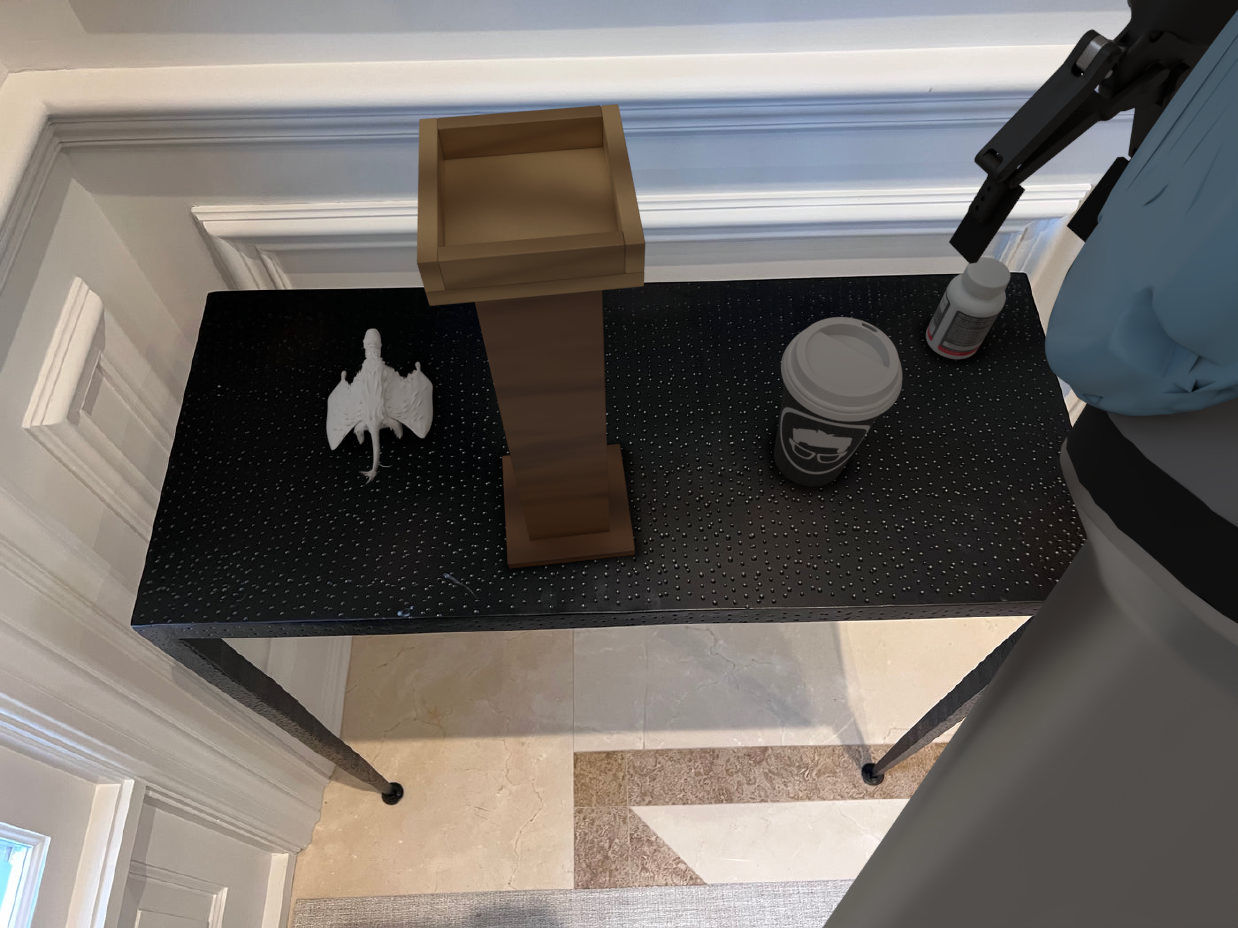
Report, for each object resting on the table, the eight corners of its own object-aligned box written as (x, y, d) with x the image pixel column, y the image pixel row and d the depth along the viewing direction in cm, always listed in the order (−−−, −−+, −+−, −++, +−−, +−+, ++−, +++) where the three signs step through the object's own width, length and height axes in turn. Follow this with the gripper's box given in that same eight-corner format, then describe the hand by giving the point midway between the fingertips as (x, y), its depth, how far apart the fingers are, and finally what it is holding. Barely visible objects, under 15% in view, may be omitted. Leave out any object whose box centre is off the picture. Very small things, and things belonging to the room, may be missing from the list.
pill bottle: (988, 345, 81) (1031, 277, 73) (952, 369, 79) (991, 302, 71) (949, 313, 83) (986, 243, 75) (913, 335, 82) (946, 266, 73)
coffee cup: (881, 472, 73) (936, 372, 60) (798, 518, 71) (837, 425, 58) (818, 400, 77) (856, 292, 65) (737, 441, 75) (761, 338, 62)
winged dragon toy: (438, 494, 72) (428, 471, 69) (325, 509, 71) (309, 487, 68) (431, 343, 81) (422, 316, 78) (331, 355, 81) (317, 328, 77)
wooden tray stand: (635, 554, 69) (645, 242, 38) (509, 569, 68) (416, 263, 37) (619, 449, 75) (618, 103, 44) (503, 461, 74) (418, 118, 43)
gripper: (1292, -61, 55) (1094, 203, 71) (1042, -79, 45) (879, 230, 62) (1388, -11, 51) (1155, 255, 67) (1137, -20, 41) (937, 293, 58)
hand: (1023, 244), depth 65 cm, fingers open, 13 cm apart
